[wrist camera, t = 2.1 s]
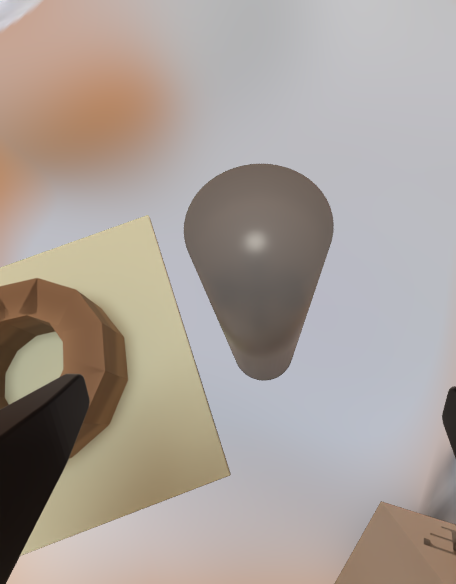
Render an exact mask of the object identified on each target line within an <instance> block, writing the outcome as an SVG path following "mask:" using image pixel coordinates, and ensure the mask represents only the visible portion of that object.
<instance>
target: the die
mask: <svg viewBox="0 0 456 584" xmlns="http://www.w3.org/2000/svg"><path fill="white" fill-rule="evenodd" d="M335 584H456V525H454V524H451V523H448V522H445V521H442V520H438V519H435V518H432V517H429V516H426V515H423V514H420V513H416V512H413V511H410V510H407V509H404V508H401V507H397V506H394V505H391V504H388V503H384V502H380V504H379V506H378V508H377V510H376V511H375V513H374V515H373V517H372V519H371V520H370V522H369V524H368V526H367V527H366V529H365V531H364V533H363V534H362V536H361V538H360V540H359V541H358V543H357V545H356V547H355V548H354V550H353V552H352V554H351V555H350V557H349V559H348V561H347V563H346V564H345V566H344V568H343V570H342V571H341V573H340V575H339V577H338V579H337V580H336V582H335Z"/></svg>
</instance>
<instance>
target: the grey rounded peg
mask: <svg viewBox="0 0 456 584" xmlns="http://www.w3.org/2000/svg"><path fill="white" fill-rule="evenodd" d="M332 236H333V216H332V212H331V208H330V206H329V203H328V201H327V199H326V198H325V196H324V194H323V193H322V191H321V190H320V189H319V188H318V187H317V186H316V185H315V184H314V183H313V182H312V181H310V180H309V179H308V178H307V177H305V176H304V175H302V174H300V173H298V172H296V171H294V170H291V169H289V168H286V167H282V166H278V165H272V164H250V165H244V166H240V167H236V168H233V169H230V170H228V171H225V172H223V173H222V174H220V175H218V176H216V177H215V178H213V179H212V180H210V181H209V182H208V183H207V184H206V185H204V186H203V187H202V189H201V190H200V191H199V192H198V193H197V194H196V196H195V197H194V199H193V200H192V202H191V204H190V206H189V208H188V211H187V214H186V218H185V222H184V238H185V243H186V247H187V250H188V252H189V255H190V257H191V259H192V262H193V264H194V266H195V268H196V271H197V273H198V275H199V277H200V280H201V282H202V284H203V287H204V289H205V291H206V294H207V296H208V298H209V300H210V303H211V305H212V307H213V310H214V312H215V314H216V316H217V319H218V321H219V323H220V326H221V328H222V330H223V332H224V334H225V337H226V339H227V342H228V344H229V346H230V348H231V350H232V353H233V355H234V357H235V360H236V362H237V364H238V366H239V368H240V369H241V370H242V371H243V372H244V373H245V374H246V375H248V376H249V377H251V378H254V379H257V380H271V379H274V378H277V377H279V376H280V375H282V374H283V373H284V372H285V371H286V369H287V368H288V367H289V365H290V363H291V360H292V357H293V354H294V351H295V348H296V345H297V342H298V339H299V336H300V333H301V330H302V327H303V324H304V322H305V319H306V316H307V313H308V310H309V307H310V304H311V301H312V298H313V295H314V292H315V289H316V286H317V283H318V280H319V277H320V274H321V271H322V268H323V265H324V262H325V259H326V256H327V253H328V250H329V247H330V244H331V241H332Z"/></svg>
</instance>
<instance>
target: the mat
mask: <svg viewBox="0 0 456 584" xmlns="http://www.w3.org/2000/svg"><path fill="white" fill-rule="evenodd" d="M34 278H40V279H43V280H46V281H50V282H53V283H56V284H59V285H63V286H66V287H69V288H73V289H76V290H77V291H79V292H80V293H82V294H83V295H84V296H86V297H87V298H88V299H90V300H91V301H92V302H94V303H95V304H96V305H98V306H99V307H100V308H102V310H103V311H104V312H105V314H106V315H107V316H108V317H109V319H110V320H111V321H112V323H113V324H114V325H115V326H116V328H117V329H118V330H119V331H120V333H121V334H122V335H123V337H124V340H125V351H126V362H127V373H128V381H127V384H126V386H125V389H124V391H123V393H122V396H121V398H120V401H119V403H118V405H117V408H116V410H115V413H114V415H113V417H112V420H111V422H110V425H108V426H107V427H106V428H105V429H104V430H103V431H102V432H101V433H99V434H98V435H97V436H96V437H95V438H94V439H93V440H91V441H90V442H89V443H88V444H87V445H86V446H85V447H83V448H82V449H81V450H80V451H79V452H78V453H77V454H76V455H74V456H73V457H72V458H69V459H68V462H67V464H66V466H65V468H64V470H63V472H62V474H61V476H60V478H59V480H58V482H57V484H56V486H55V488H54V490H53V492H52V494H51V496H50V498H49V500H48V502H47V504H46V506H45V508H44V510H43V512H42V513H41V515H40V517H39V519H38V521H37V523H36V525H35V527H34V529H33V531H32V533H31V535H30V537H29V539H28V541H27V543H26V545H25V547H24V549H23V551H22V553H21V555H24V554H26V553H29V552H32V551H34V550H37V549H39V548H42V547H45V546H47V545H50V544H52V543H55V542H58V541H60V540H63V539H65V538H68V537H71V536H73V535H76V534H78V533H81V532H84V531H86V530H89V529H91V528H94V527H97V526H99V525H102V524H105V523H107V522H110V521H112V520H115V519H118V518H120V517H123V516H125V515H128V514H131V513H133V512H136V511H138V510H141V509H143V508H146V507H149V506H151V505H154V504H157V503H159V502H162V501H164V500H167V499H170V498H172V497H175V496H178V495H180V494H183V493H185V492H188V491H190V490H193V489H195V488H198V487H201V486H203V485H206V484H209V483H211V482H214V481H217V480H219V479H222V478H224V477H227V476H230V471H229V468H228V464H227V461H226V458H225V455H224V452H223V448H222V445H221V442H220V439H219V436H218V433H217V430H216V426H215V423H214V420H213V417H212V414H211V411H210V407H209V404H208V401H207V398H206V395H205V391H204V388H203V385H202V382H201V379H200V376H199V373H198V369H197V366H196V363H195V360H194V356H193V354H192V350H191V347H190V344H189V341H188V337H187V334H186V331H185V328H184V325H183V322H182V319H181V315H180V312H179V309H178V306H177V303H176V299H175V296H174V293H173V290H172V287H171V284H170V280H169V277H168V274H167V271H166V268H165V264H164V262H163V258H162V255H161V252H160V249H159V246H158V242H157V239H156V236H155V233H154V230H153V227H152V223H151V220H150V218H149V216H148V215H147V216H144V217H141V218H138V219H135V220H133V221H130V222H127V223H124V224H122V225H119V226H116V227H113V228H110V229H108V230H104V231H102V232H99V233H96V234H94V235H91V236H88V237H85V238H82V239H79V240H77V241H74V242H71V243H68V244H65V245H62V246H60V247H57V248H54V249H52V250H49V251H46V252H43V253H40V254H37V255H34V256H32V257H29V258H26V259H23V260H20V261H18V262H15V263H12V264H9V265H6V266H4V267H1V268H0V286H4V285H8V284H12V283H17V282H21V281H25V280H30V279H34ZM62 371H63V342H62V340H61V339H60V337H59V336H58V334H57V333H56V332H51V333H46V334H42V335H38V336H36V337H34V338H33V339H32V340H31V341H29V342H28V343H27V344H26V345H24V346H23V347H22V348H21V349H19V350H18V351H17V353H16V355H15V357H14V358H13V360H12V362H11V364H10V366H9V368H8V370H7V372H6V375H5V399H6V400H7V402H8V404H11V403H13V402H15V401H17V400H19V399H20V398H22V397H24V396H26V395H28V394H30V393H31V392H33V391H35V390H37V389H39V388H41V387H42V386H44V385H46V384H48V383H50V382H52V381H53V380H55V379H57V378H59V377H60V375H61V373H62ZM21 555H20V556H21Z"/></svg>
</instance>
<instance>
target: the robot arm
mask: <svg viewBox="0 0 456 584" xmlns="http://www.w3.org/2000/svg"><path fill="white" fill-rule="evenodd" d="M89 403H90V400H89V395H88V391H87V387H86V383H85V379H84V377H83V375H81V374H65V375H63V376H61V377H59V378H57V379H55V380H53V381H52V382H50V383H48V384H46V385H44V386H42V387H41V388H39V389H37V390H35V391H33V392H31V393H30V394H28V395H26V396H24V397H22V398H20V399H19V400H17V401H15V402H13V403H11V404H9V405H8V406H6V407H4V408H2V409H0V584H6V582H7V580H8V578H9V576H10V574H11V572H12V570H13V568H14V566H15V564H16V563H17V561H18V559H19V557H20V555H21V553H22V551H23V549H24V547H25V545H26V543H27V541H28V539H29V537H30V535H31V533H32V531H33V529H34V527H35V525H36V523H37V521H38V519H39V517H40V515H41V513H42V512H43V510H44V508H45V506H46V504H47V502H48V500H49V498H50V496H51V494H52V492H53V490H54V488H55V486H56V484H57V482H58V480H59V478H60V476H61V474H62V472H63V470H64V468H65V466H66V464H67V462H68V459H69V457H70V455H71V452H72V450H73V447H74V445H75V442H76V439H77V437H78V434H79V432H80V429H81V427H82V424H83V421H84V419H85V416H86V414H87V411H88V408H89ZM442 419H443V424H444V427H445V430H446V433H447V435H448V438H449V441H450V444H451V447H452V449H453V452H454V455H455V458H456V387H455V386H454V387H452V388H450V389H449V392H448V395H447V399H446V402H445V406H444V410H443V415H442Z"/></svg>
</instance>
